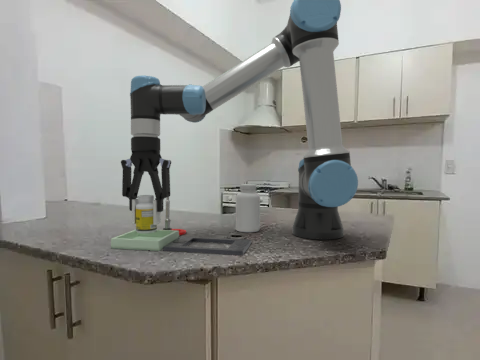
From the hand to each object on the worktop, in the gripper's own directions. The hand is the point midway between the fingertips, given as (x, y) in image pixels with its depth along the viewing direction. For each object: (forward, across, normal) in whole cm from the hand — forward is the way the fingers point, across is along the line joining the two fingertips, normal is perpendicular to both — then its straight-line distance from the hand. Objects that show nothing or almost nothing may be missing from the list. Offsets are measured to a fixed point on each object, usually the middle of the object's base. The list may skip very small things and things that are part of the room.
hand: (146, 223), depth 86 cm
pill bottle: (+6, -24, -23) cm, 33 cm away
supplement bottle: (+3, 0, 0) cm, 3 cm away
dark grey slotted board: (+5, -18, 0) cm, 18 cm away
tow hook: (+6, -2, -13) cm, 14 cm away
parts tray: (+6, 0, 0) cm, 6 cm away
